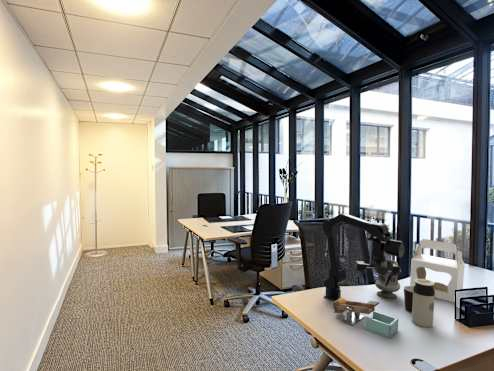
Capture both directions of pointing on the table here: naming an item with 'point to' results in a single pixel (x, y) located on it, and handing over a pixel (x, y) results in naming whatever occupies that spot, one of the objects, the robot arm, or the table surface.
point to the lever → (355, 307)
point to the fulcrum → (352, 317)
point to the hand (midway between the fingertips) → (375, 285)
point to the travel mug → (423, 302)
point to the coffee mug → (408, 298)
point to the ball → (342, 301)
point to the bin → (382, 324)
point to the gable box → (438, 267)
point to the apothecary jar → (391, 286)
